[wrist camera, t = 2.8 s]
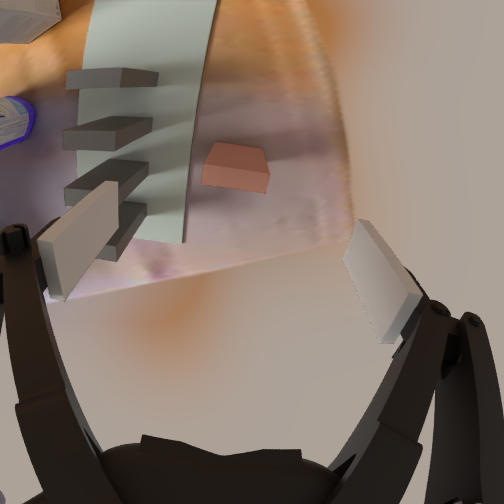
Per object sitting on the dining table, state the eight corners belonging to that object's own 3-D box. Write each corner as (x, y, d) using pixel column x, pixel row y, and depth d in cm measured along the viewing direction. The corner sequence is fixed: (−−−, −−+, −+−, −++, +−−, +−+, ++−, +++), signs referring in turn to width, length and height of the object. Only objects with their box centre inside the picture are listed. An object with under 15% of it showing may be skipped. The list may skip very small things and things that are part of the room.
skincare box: (58, -5, 18) (-3, -22, 8) (63, 20, 20) (-2, 8, 10) (23, 21, 19) (-40, 17, 9) (27, 45, 21) (-39, 47, 11)
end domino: (259, 162, 31) (265, 193, 23) (213, 155, 31) (200, 183, 22) (262, 148, 31) (269, 174, 22) (215, 141, 30) (203, 164, 21)
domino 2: (151, 132, 29) (114, 151, 20) (110, 129, 28) (62, 149, 20) (152, 117, 28) (115, 131, 19) (110, 115, 27) (62, 130, 19)
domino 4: (146, 216, 34) (116, 261, 25) (108, 211, 33) (71, 254, 25) (146, 203, 33) (115, 246, 24) (108, 199, 32) (68, 239, 24)
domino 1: (156, 86, 26) (119, 87, 18) (113, 86, 26) (65, 90, 17) (159, 72, 25) (122, 67, 17) (115, 72, 25) (66, 71, 16)
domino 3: (148, 175, 31) (114, 211, 23) (108, 172, 31) (65, 205, 22) (149, 161, 30) (113, 192, 22) (108, 158, 30) (63, 188, 21)
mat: (182, 243, 36) (181, 244, 36) (81, 228, 35) (80, 230, 34) (219, -10, 21) (219, -11, 21) (97, -5, 20) (96, -6, 19)
